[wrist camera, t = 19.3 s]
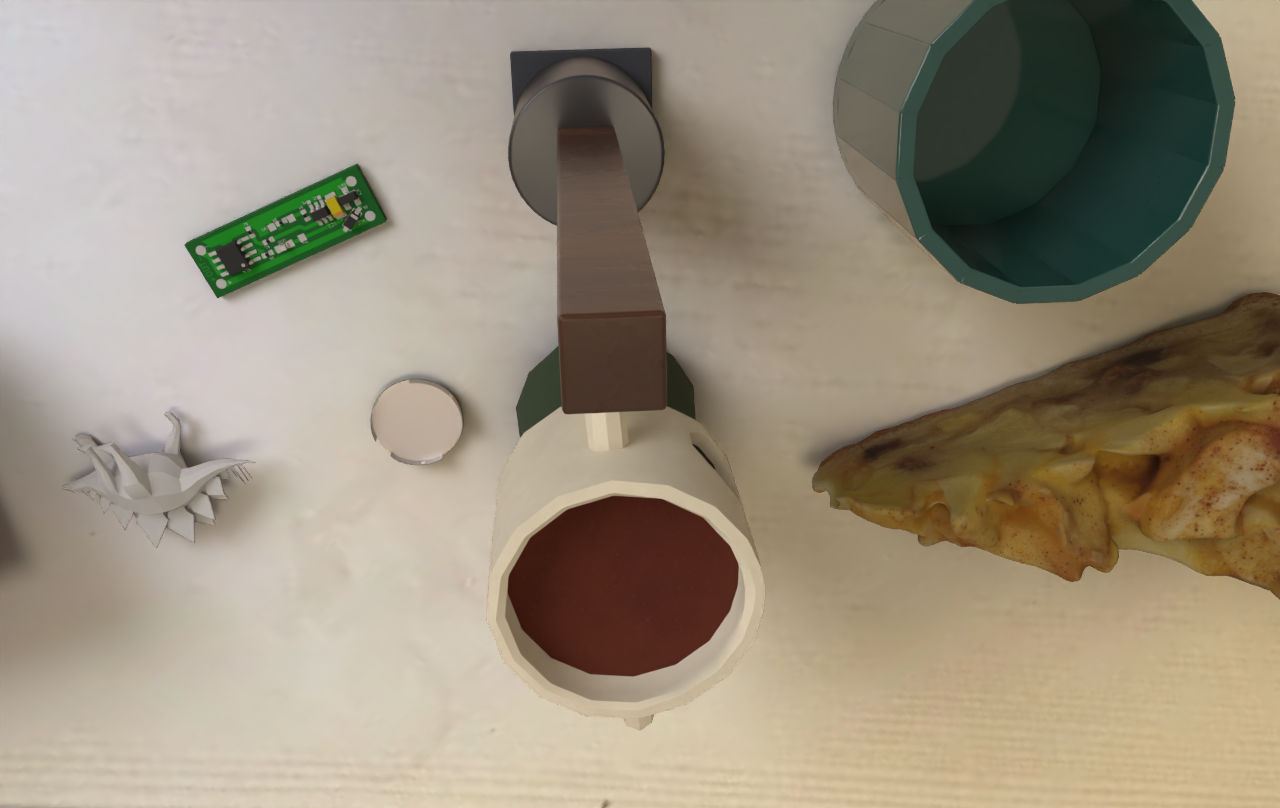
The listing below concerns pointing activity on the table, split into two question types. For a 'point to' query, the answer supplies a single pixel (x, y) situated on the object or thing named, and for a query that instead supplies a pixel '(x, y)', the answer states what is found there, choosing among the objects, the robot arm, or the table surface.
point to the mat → (625, 58)
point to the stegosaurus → (155, 485)
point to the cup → (1036, 134)
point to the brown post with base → (596, 228)
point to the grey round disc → (417, 421)
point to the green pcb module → (286, 231)
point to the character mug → (620, 555)
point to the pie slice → (1099, 458)
